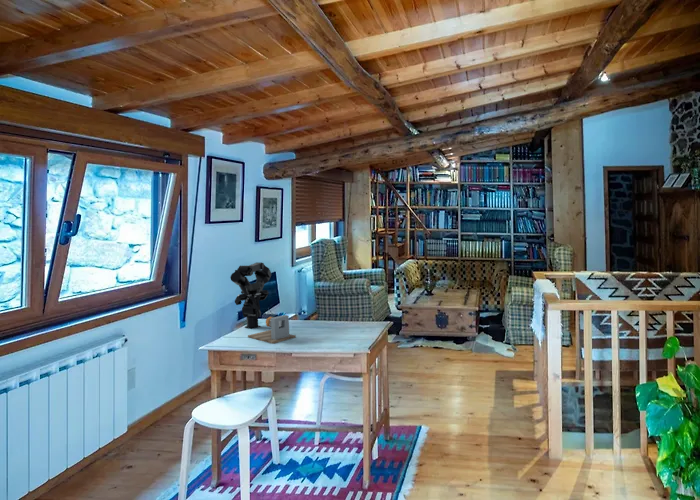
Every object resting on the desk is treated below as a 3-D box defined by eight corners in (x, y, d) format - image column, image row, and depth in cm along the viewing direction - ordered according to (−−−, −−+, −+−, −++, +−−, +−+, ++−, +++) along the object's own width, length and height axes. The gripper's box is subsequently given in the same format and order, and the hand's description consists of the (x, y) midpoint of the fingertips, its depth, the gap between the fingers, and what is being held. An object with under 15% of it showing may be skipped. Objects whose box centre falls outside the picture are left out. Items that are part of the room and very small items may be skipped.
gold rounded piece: (265, 327, 253) (265, 317, 252) (273, 325, 256) (273, 315, 256) (276, 329, 247) (275, 319, 247) (284, 327, 251) (283, 317, 251)
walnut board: (247, 337, 255) (247, 335, 255) (270, 331, 266) (270, 329, 266) (272, 343, 242) (272, 341, 242) (295, 337, 253) (295, 335, 253)
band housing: (270, 338, 247) (270, 318, 247) (284, 335, 254) (284, 314, 253) (275, 339, 245) (274, 318, 244) (289, 336, 252) (288, 315, 251)
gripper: (236, 279, 255) (250, 302, 248) (266, 275, 269) (279, 297, 262) (228, 292, 261) (242, 316, 254) (257, 288, 275) (271, 310, 268)
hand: (259, 309), depth 259 cm, fingers closed
